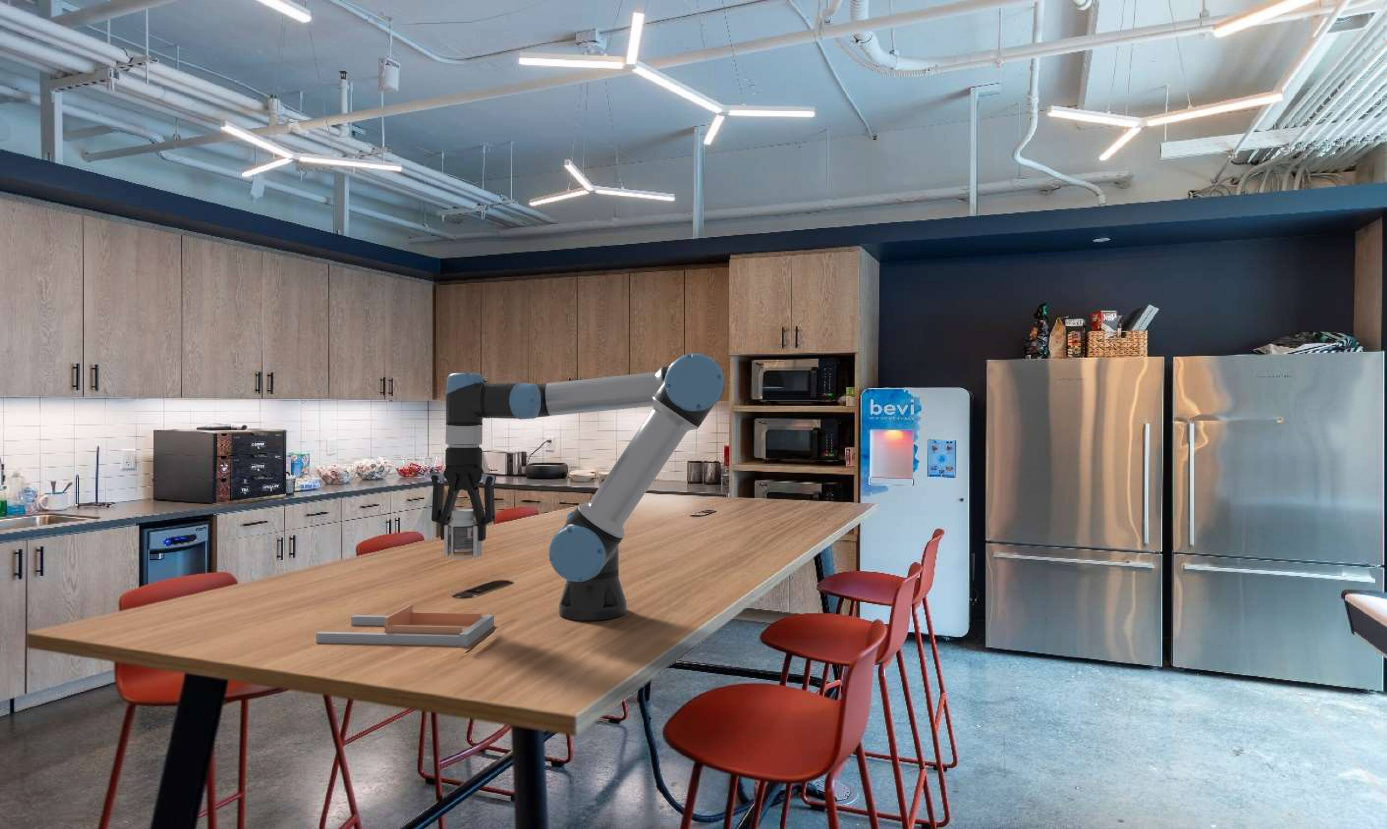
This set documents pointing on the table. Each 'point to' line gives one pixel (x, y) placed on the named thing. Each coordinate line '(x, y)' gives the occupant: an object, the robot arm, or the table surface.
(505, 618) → the table surface
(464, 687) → the table surface
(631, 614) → the table surface
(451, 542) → the pill bottle
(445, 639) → the bay
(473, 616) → the crate
